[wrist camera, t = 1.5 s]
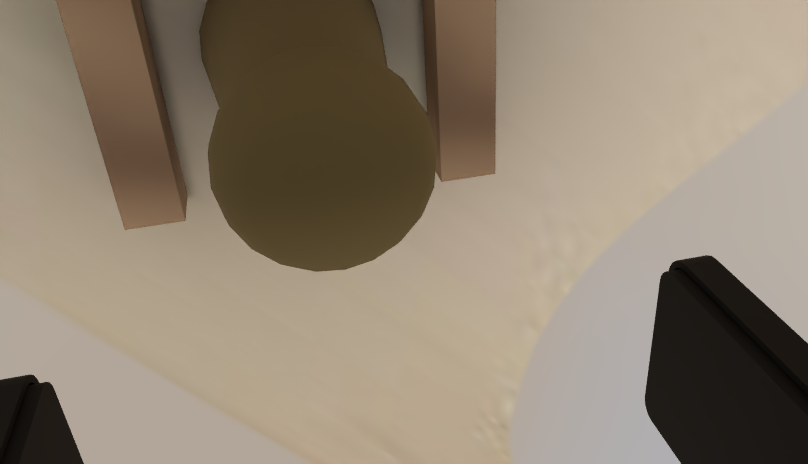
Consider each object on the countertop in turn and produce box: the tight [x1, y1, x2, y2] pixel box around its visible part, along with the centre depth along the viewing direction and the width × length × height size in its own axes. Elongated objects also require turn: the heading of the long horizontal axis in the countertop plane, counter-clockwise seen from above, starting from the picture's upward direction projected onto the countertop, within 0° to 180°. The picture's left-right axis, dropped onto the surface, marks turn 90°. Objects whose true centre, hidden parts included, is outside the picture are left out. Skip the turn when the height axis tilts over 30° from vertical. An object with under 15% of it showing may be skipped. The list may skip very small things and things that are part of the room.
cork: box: [199, 0, 436, 271], centre depth 20 cm, size 6×6×11 cm
